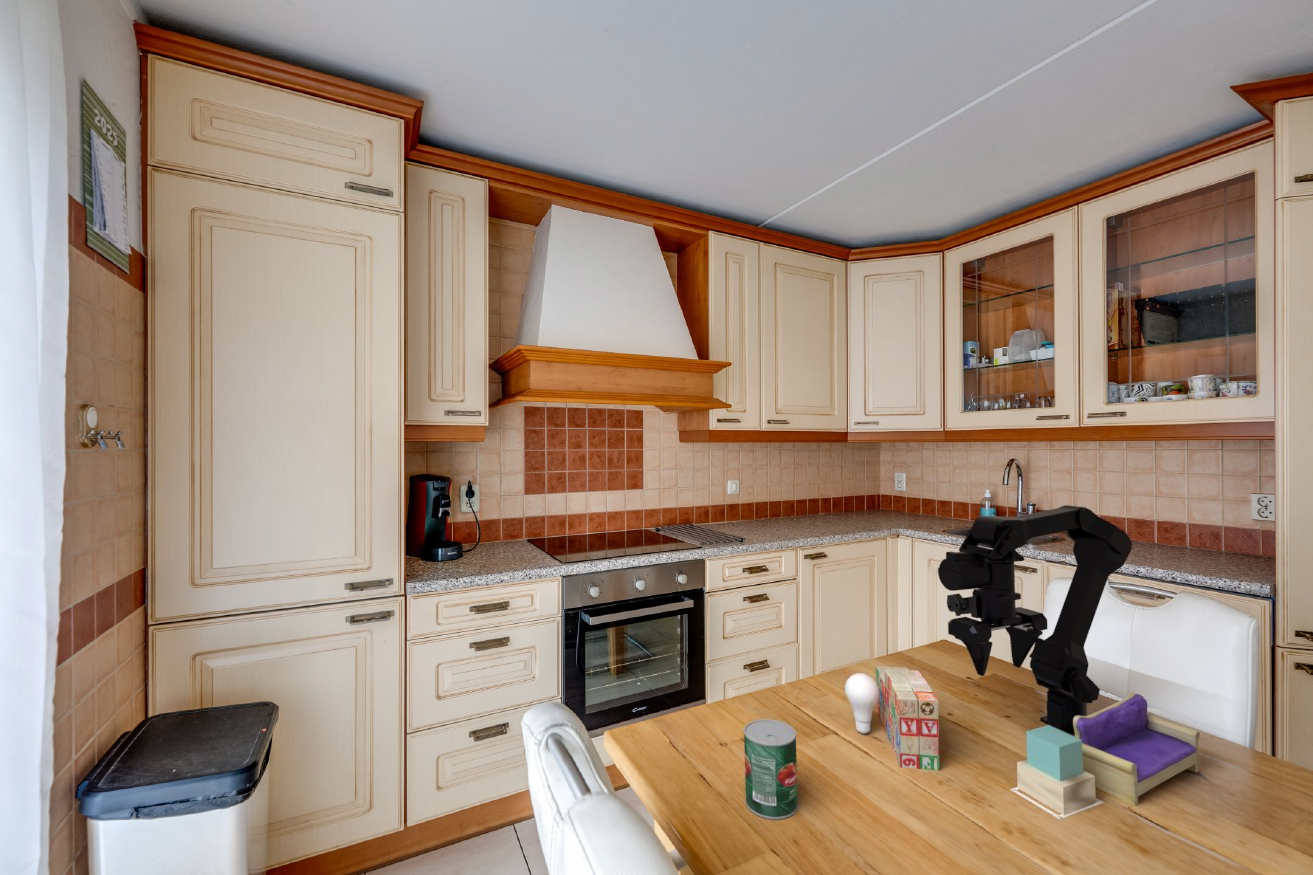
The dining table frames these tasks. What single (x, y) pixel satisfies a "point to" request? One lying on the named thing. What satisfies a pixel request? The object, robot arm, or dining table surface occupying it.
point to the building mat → (1051, 811)
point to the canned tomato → (770, 769)
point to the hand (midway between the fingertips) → (999, 670)
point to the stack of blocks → (909, 717)
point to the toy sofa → (1133, 748)
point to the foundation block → (1057, 789)
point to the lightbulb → (862, 699)
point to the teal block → (1054, 752)
